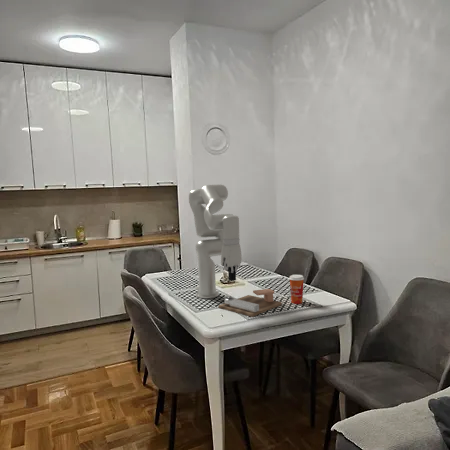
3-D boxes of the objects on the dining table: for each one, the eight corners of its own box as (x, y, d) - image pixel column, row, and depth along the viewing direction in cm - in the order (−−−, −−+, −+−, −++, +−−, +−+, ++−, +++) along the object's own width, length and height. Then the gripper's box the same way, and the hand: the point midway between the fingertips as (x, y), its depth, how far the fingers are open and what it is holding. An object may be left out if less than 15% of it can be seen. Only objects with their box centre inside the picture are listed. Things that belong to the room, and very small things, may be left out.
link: (222, 304, 203) (222, 297, 202) (229, 302, 207) (229, 295, 206) (253, 312, 189) (253, 305, 189) (259, 310, 193) (259, 302, 193)
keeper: (257, 305, 204) (257, 293, 204) (253, 302, 210) (253, 290, 209) (274, 303, 207) (274, 291, 206) (269, 300, 213) (269, 288, 212)
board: (218, 307, 203) (218, 305, 203) (248, 297, 220) (248, 294, 220) (252, 317, 188) (252, 314, 188) (281, 304, 206) (281, 302, 205)
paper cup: (286, 303, 208) (286, 276, 206) (293, 299, 214) (292, 273, 213) (301, 305, 203) (300, 278, 202) (306, 301, 210) (306, 275, 208)
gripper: (235, 239, 196) (236, 276, 198) (214, 243, 185) (215, 282, 187) (247, 240, 191) (248, 278, 193) (226, 244, 180) (227, 284, 182)
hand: (232, 280), depth 190 cm, fingers closed
